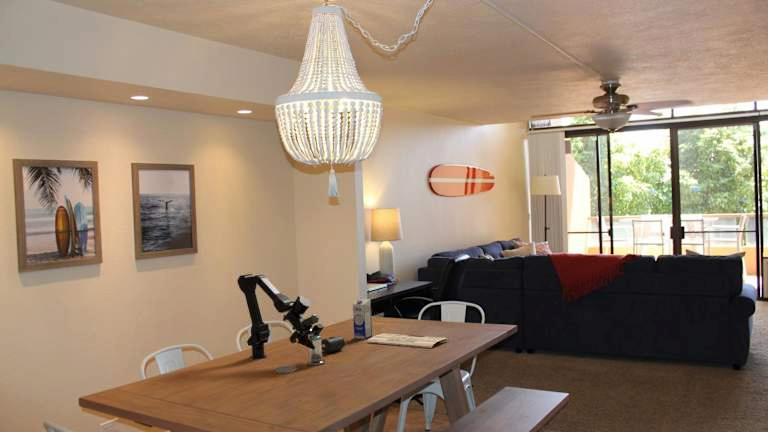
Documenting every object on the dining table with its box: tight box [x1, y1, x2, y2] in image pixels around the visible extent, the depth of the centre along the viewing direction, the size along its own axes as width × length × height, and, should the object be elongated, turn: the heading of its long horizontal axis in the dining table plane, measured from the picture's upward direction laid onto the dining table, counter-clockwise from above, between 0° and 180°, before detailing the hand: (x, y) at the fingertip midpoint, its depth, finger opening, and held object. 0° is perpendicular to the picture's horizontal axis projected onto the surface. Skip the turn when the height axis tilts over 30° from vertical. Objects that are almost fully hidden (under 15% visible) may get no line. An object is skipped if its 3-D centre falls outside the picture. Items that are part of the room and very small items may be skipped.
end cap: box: [321, 335, 346, 354], centre depth 321 cm, size 10×7×7 cm
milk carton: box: [352, 298, 373, 340], centre depth 351 cm, size 7×7×20 cm
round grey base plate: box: [306, 357, 326, 367], centre depth 299 cm, size 8×8×3 cm
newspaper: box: [366, 332, 450, 349], centre depth 334 cm, size 37×19×3 cm, turn 58°
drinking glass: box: [308, 334, 323, 359], centre depth 299 cm, size 5×5×9 cm
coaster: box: [274, 365, 297, 374], centre depth 288 cm, size 9×9×1 cm
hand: (318, 347), depth 298 cm, fingers closed on drinking glass, 5 cm apart
